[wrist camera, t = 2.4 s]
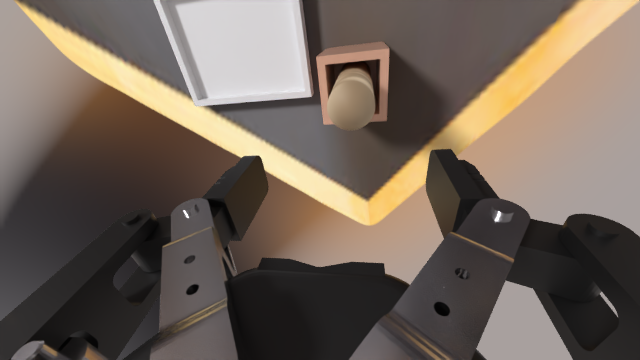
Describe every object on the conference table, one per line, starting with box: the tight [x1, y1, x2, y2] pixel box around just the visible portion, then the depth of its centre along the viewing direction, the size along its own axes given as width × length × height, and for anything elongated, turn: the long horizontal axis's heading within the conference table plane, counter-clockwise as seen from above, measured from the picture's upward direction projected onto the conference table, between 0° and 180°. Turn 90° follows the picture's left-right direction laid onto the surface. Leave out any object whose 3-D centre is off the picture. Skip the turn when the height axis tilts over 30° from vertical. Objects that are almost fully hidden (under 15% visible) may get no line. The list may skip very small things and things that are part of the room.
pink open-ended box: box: [316, 41, 389, 125], centre depth 29 cm, size 7×7×9 cm
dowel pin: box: [327, 61, 375, 130], centre depth 26 cm, size 4×4×14 cm
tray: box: [154, 0, 314, 106], centre depth 32 cm, size 18×14×2 cm
